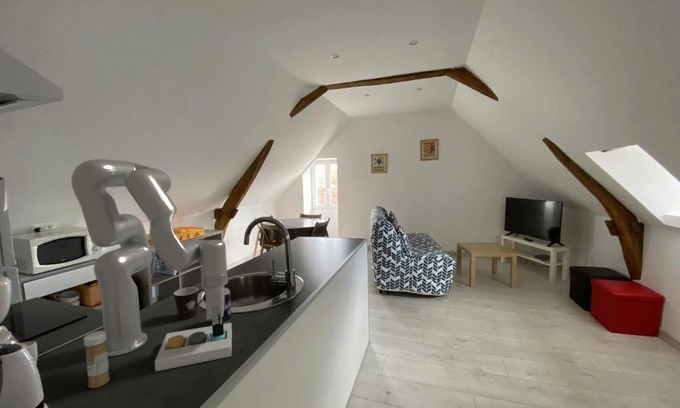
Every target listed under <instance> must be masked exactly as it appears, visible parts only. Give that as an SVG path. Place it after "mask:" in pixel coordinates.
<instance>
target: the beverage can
mask: <svg viewBox="0 0 680 408" xmlns="http://www.w3.org/2000/svg"><path fill="white" fill-rule="evenodd" d="M224 297H225V302H224V314H223V317H222V321H223V324H226V323H229V322H230V320H231V319H232V302H231V292H230V289H229V288H228V287H224Z"/></svg>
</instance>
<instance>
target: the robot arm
mask: <svg viewBox="0 0 680 408" xmlns="http://www.w3.org/2000/svg"><path fill="white" fill-rule="evenodd" d="M70 183H71V187H72V190H73V193H74V195H75V197H76V199H77V201H78V203H79V206H80V208H81V211H82V215H83V218H84V222H85V224H86V228H87V231H88V235H89V238H90V239H91V240H90V241H92V243H93V245H94V246H96V247H98V248H111V247H114V246H117V245H119V246H120V248H116V249H113V250H110V251H108V252H105V253H103V254H102V255H100V256H99V257H98V258H97V259H96V260H95V262H94V265H93V272H94V276H95V278H96V281H97V284H98V288H99V293H100V302H101V310H102V313H101V314H102V323H103V331H104V332H106V337H107V339H106V346H107V354H108V357H115V356H116V357H117V356H121V355H122V356H123V355H124V354H128V353H131V352H134V351H135V350H137V349H139V348H141V347H142V346H144V345H145V343H147V341H148V335H147V333H144V332H142V327H141V315H140V303H139V291H138V287H137V285H136V283H135V281H134V280H133V278H132V275H134V274H137V273H139V272H140V271H143V270H145V269H146V268H148V266H150V264H151V262H152V260H153V259H152V250H151V247H150V243H151V245H152V247H153V250H154V251H155V253H156V254H157V255H158V257H159V258H160V260H161V261H162V263H164V264H165V266H166V267H168V268H169V269H171V270H173V271H182V270H185V269H187V268H188V267H191V266H192V265H195V264H196V263H200V274H201V277H200V278H201V286H202V288H204V289H205V290H206V292H205V294H206V297H205V313H206V315H205V317H206V318H205V319H206V320H207V321H209V320H211V321H212V324H211V326H212V330H213V337H216V336H221V335H223V334H224V326H223V324H224V323H223V321H222V317H223V314H224V302H225V297H224V288H225V285H227V284H228V283H229V282H228V281H229V280H228V266H227V251H226V250H227V248H226V243H225V242H224V240H221V239H210V240H205V239H197V238H192V239H187V240H185V241H183V242H180V240H179V239H178V237H177V236H176V233H175V231H174V230H173V219H174V217H175V215H176V213H177V212H178V210H177V209H178V208H177V205H175V203H174V202H173V200H172V199H171V197H170V195H169V194H168V192H169V191H170V190H171V187H172V180H171V178H170V176H169V175H168V174H167V173H166V172H165V171H163V170H160V169H157V168H153V167H150V166H146V165H143V164H139V163H136V162H132V161H126V160H114V159H105V158H104V159H101V158H100V159H99V158H98V159H97V158H96V159H89V160H85V161H83V162H82V163H79V165H77V166H76V167H75V169H74V170H73V172H72V176H71V182H70ZM115 187H116V188H117V187H118V188H119V187H125V188H126V190H127V191H128V193H129V194H130V196H131V197H132V198H133V200H134V201H135V203H136V204H137V205H138V207H139V208H140V210H141V212H142V213H143V214H144V216H145V217H146V219H147V220H148V222H149V229H148V230H149V236H150V237H149V238H150V243H149V240H148V236H147V233H146V230H145V227H144V224H143V222H142V221H141V219H140V218H138V216H136V215H134V214H131V213H121V214H120V212H119V210H118V207H117V203H116V201H115V199H114V197H113V196H112V195H111V194H110V193H109V191H108V190H106V189H107V188H115Z"/></svg>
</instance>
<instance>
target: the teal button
mask: <svg viewBox="0 0 680 408" xmlns="http://www.w3.org/2000/svg"><path fill="white" fill-rule="evenodd" d="M210 337H211V342H212V341H218V340H223V339H225V332H224V334H223V335H221V336H216V337H213V334H212V335H211V336H210Z"/></svg>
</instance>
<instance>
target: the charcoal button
mask: <svg viewBox="0 0 680 408" xmlns="http://www.w3.org/2000/svg"><path fill="white" fill-rule="evenodd" d="M189 338H190V346H191V345H196V344H202V343H205V333H204V332H196V333H193V334H191V335H190V337H189Z"/></svg>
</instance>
